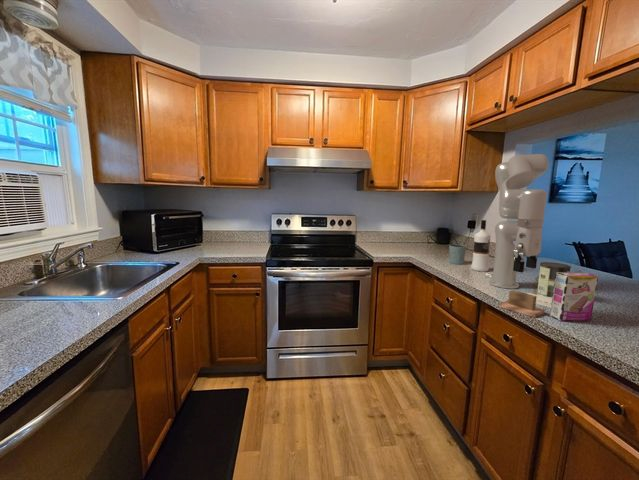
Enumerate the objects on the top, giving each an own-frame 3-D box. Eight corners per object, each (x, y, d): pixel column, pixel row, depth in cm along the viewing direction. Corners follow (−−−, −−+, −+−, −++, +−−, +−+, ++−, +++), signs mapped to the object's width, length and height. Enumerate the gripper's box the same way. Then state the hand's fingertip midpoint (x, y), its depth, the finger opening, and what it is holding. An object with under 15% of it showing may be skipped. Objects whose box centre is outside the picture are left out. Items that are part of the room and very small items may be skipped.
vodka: (474, 267, 175) (478, 219, 171) (491, 270, 168) (495, 220, 164) (468, 269, 170) (471, 219, 165) (484, 272, 162) (489, 220, 158)
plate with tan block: (499, 306, 111) (500, 290, 110) (508, 303, 114) (510, 287, 113) (534, 317, 100) (536, 300, 100) (544, 313, 104) (546, 296, 103)
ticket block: (519, 299, 119) (519, 295, 119) (528, 296, 123) (528, 292, 123) (554, 308, 109) (554, 304, 109) (562, 304, 113) (563, 300, 113)
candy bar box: (561, 322, 97) (567, 275, 95) (549, 316, 102) (554, 271, 100) (592, 321, 97) (599, 275, 95) (579, 315, 102) (585, 271, 100)
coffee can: (571, 297, 122) (575, 265, 120) (560, 301, 117) (564, 268, 115) (543, 290, 131) (546, 261, 129) (531, 294, 126) (535, 263, 124)
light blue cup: (461, 262, 191) (462, 244, 189) (467, 265, 181) (469, 247, 180) (445, 261, 192) (447, 244, 190) (451, 265, 182) (452, 246, 181)
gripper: (530, 226, 95) (524, 275, 98) (552, 223, 104) (546, 268, 107) (506, 224, 101) (501, 270, 104) (529, 221, 110) (524, 264, 113)
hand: (524, 269), depth 106 cm, fingers open, 9 cm apart
